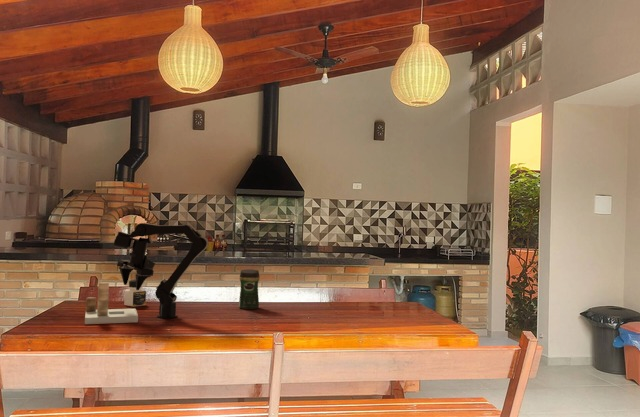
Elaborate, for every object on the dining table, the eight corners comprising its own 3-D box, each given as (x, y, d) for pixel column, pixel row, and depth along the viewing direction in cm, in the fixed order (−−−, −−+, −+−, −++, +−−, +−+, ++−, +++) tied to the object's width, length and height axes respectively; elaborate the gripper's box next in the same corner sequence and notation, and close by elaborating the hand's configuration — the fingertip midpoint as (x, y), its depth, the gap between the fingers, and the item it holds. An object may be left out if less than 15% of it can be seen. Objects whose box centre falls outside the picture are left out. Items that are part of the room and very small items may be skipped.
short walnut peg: (98, 310, 236) (98, 297, 236) (90, 312, 232) (90, 299, 232) (91, 309, 238) (92, 296, 238) (83, 311, 234) (84, 298, 234)
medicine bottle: (132, 306, 261) (133, 281, 261) (123, 304, 266) (124, 279, 265) (145, 305, 267) (146, 280, 267) (136, 303, 271) (137, 278, 271)
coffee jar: (258, 306, 274) (260, 268, 274) (258, 309, 266) (259, 270, 266) (238, 306, 273) (240, 268, 273) (238, 309, 265) (239, 270, 265)
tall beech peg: (109, 315, 228) (111, 283, 228) (101, 316, 225) (103, 284, 225) (103, 313, 230) (104, 282, 230) (95, 315, 227) (96, 283, 227)
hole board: (135, 314, 244) (135, 308, 244) (137, 322, 228) (138, 316, 228) (85, 315, 237) (85, 310, 237) (84, 324, 221) (85, 317, 221)
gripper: (167, 257, 241) (159, 292, 241) (141, 248, 252) (134, 282, 252) (145, 255, 232) (137, 292, 232) (120, 246, 243) (112, 282, 243)
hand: (131, 287), depth 240 cm, fingers open, 9 cm apart
